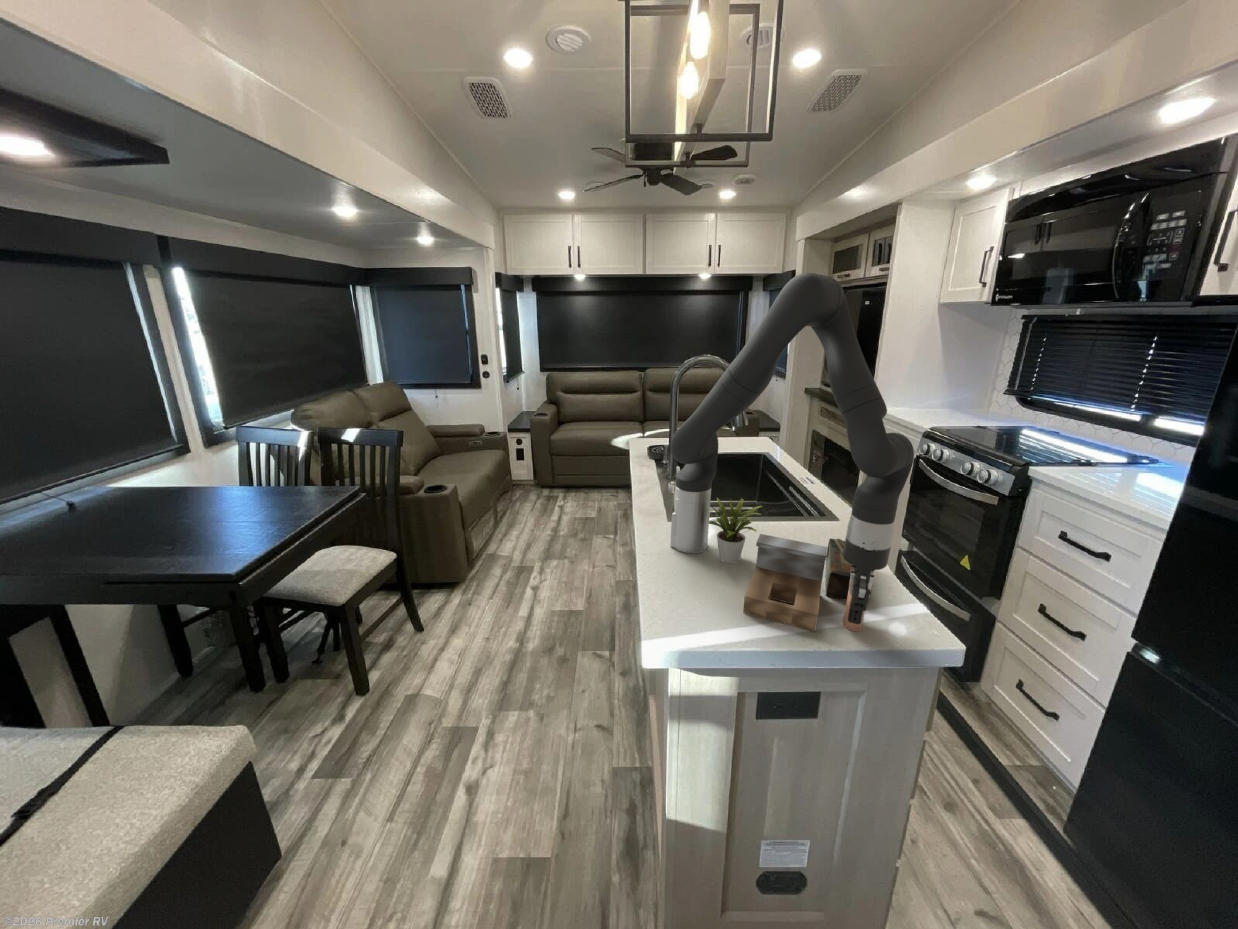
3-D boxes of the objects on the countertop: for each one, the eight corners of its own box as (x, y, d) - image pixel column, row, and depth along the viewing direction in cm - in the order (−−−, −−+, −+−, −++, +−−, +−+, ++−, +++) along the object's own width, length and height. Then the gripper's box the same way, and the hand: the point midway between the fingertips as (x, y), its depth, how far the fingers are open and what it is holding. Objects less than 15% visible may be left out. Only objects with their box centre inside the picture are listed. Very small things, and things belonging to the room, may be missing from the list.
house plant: (762, 578, 107) (769, 515, 102) (703, 572, 110) (707, 510, 105) (757, 550, 120) (763, 492, 115) (704, 545, 123) (708, 488, 118)
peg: (842, 628, 90) (850, 584, 87) (842, 618, 93) (850, 575, 90) (861, 633, 89) (870, 588, 86) (861, 623, 92) (869, 579, 88)
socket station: (742, 612, 95) (748, 561, 91) (755, 579, 107) (760, 533, 103) (815, 632, 89) (823, 578, 85) (819, 595, 101) (827, 546, 97)
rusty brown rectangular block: (859, 564, 114) (864, 540, 112) (865, 607, 97) (870, 580, 95) (825, 558, 117) (828, 534, 115) (824, 598, 100) (829, 572, 98)
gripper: (846, 520, 92) (834, 593, 98) (845, 550, 80) (831, 632, 86) (888, 527, 89) (873, 602, 95) (894, 560, 77) (876, 644, 83)
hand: (853, 616), depth 90 cm, fingers closed on peg, 3 cm apart
